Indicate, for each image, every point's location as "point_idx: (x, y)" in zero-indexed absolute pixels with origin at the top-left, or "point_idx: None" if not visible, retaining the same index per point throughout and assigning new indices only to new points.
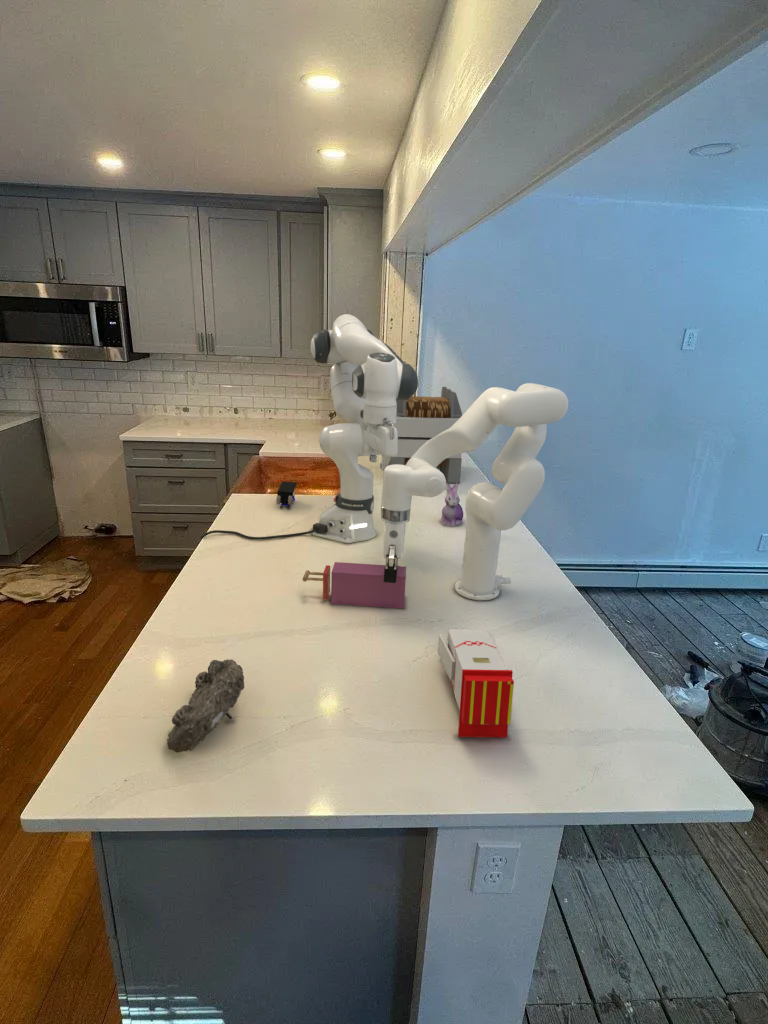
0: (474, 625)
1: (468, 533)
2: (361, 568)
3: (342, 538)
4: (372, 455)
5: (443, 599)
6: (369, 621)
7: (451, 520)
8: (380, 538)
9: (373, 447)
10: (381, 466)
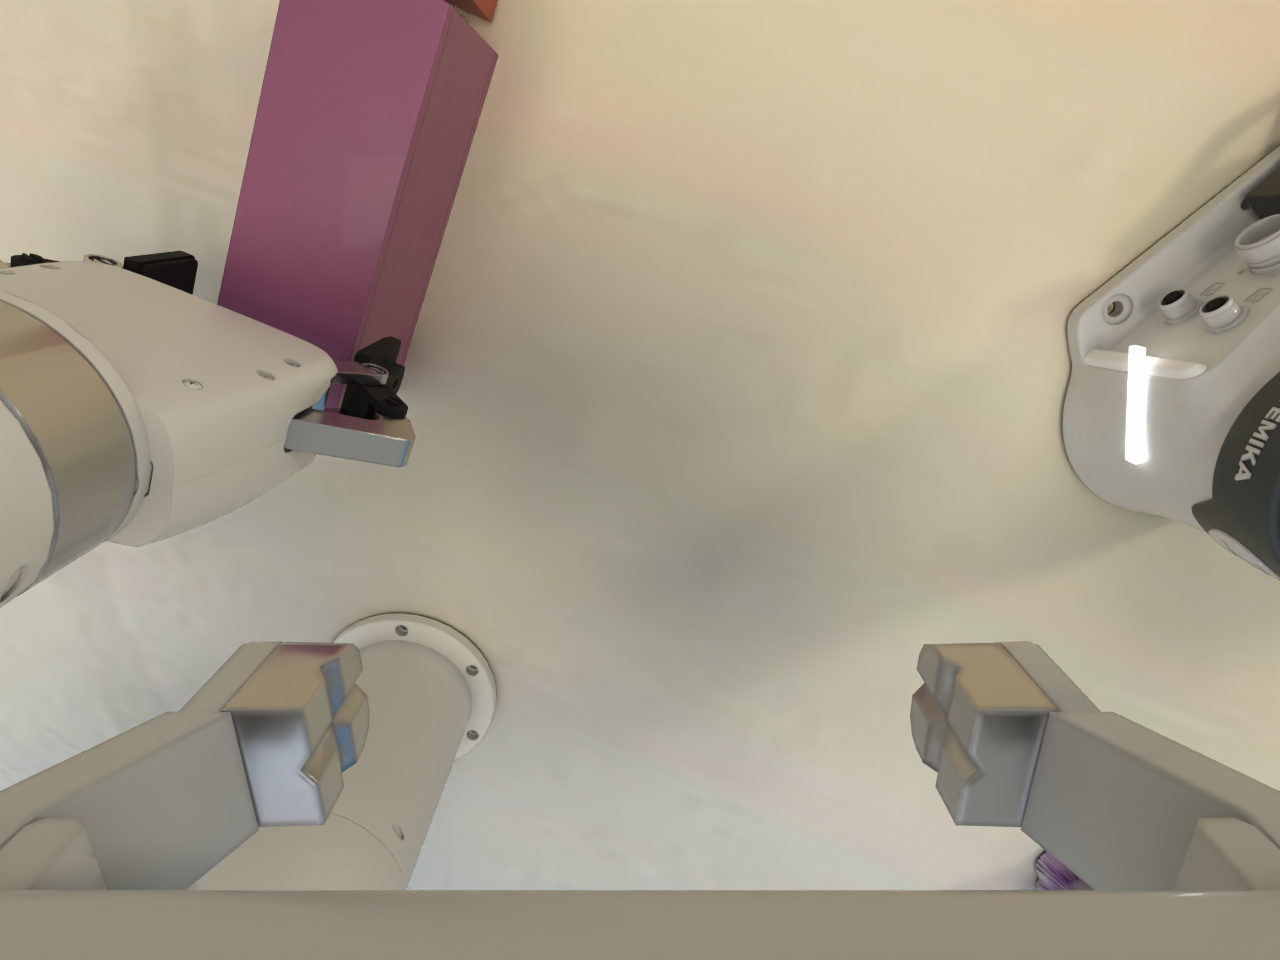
0: (145, 562)
1: (263, 848)
2: (327, 162)
3: (1128, 296)
4: (1039, 761)
5: (356, 540)
6: (197, 153)
7: (1060, 884)
8: (1058, 511)
9: (555, 947)
10: (244, 673)
